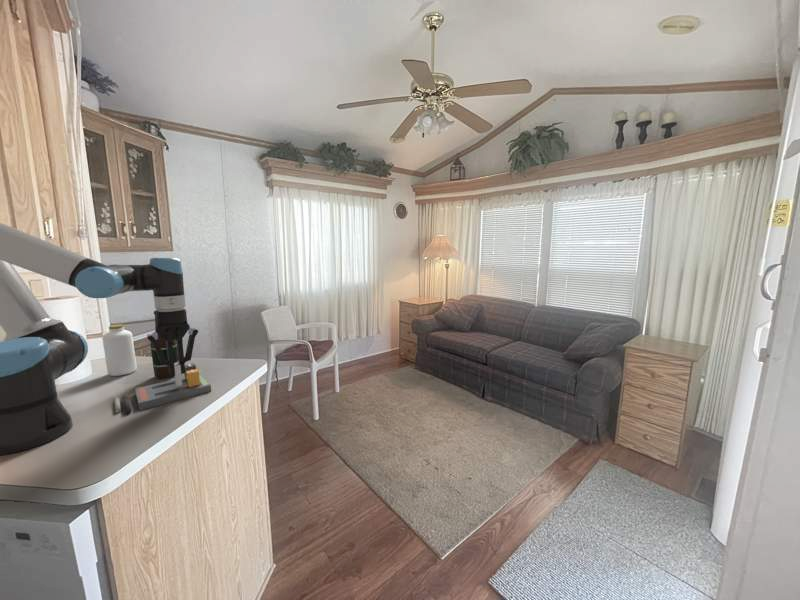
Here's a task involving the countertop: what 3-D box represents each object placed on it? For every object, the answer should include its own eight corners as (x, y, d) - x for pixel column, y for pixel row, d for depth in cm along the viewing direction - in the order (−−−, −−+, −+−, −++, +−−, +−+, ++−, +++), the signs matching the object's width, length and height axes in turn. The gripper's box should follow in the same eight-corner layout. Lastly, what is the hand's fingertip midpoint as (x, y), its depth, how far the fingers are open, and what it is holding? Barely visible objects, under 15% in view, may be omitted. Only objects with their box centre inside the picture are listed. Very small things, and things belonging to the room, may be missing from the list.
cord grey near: (121, 412, 91) (120, 408, 91) (115, 413, 90) (114, 409, 90) (119, 399, 99) (119, 396, 98) (114, 401, 98) (113, 397, 98)
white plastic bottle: (112, 371, 123) (106, 324, 121) (140, 367, 127) (133, 322, 124) (104, 378, 116) (96, 329, 113) (133, 374, 119) (126, 326, 117)
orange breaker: (189, 387, 101) (187, 373, 101) (187, 384, 104) (185, 370, 103) (200, 384, 103) (198, 370, 103) (198, 381, 106) (196, 368, 105)
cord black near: (131, 413, 90) (130, 408, 90) (125, 415, 89) (124, 410, 89) (128, 398, 99) (128, 394, 99) (122, 400, 98) (122, 395, 98)
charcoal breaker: (186, 380, 107) (185, 367, 106) (184, 378, 109) (183, 365, 108) (197, 378, 109) (195, 365, 108) (195, 375, 111) (193, 362, 110)
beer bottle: (186, 371, 122) (178, 308, 118) (169, 379, 114) (160, 312, 111) (166, 371, 123) (158, 308, 119) (149, 379, 115) (140, 312, 111)
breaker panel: (139, 409, 92) (138, 403, 92) (135, 394, 102) (134, 388, 102) (211, 391, 104) (210, 384, 104) (201, 379, 114) (200, 373, 114)
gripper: (144, 313, 91) (154, 394, 94) (198, 308, 99) (205, 382, 103) (142, 310, 96) (151, 386, 99) (193, 305, 105) (200, 375, 108)
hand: (178, 384), depth 101 cm, fingers closed
